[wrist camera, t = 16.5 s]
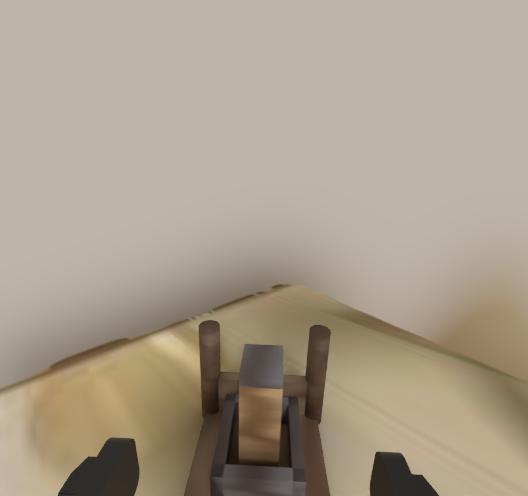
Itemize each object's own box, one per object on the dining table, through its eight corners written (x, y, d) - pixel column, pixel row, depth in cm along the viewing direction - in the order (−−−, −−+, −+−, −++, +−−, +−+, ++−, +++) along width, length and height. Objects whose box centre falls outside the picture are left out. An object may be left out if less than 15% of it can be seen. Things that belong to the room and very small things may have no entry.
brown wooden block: (277, 432, 34) (282, 345, 31) (277, 476, 29) (283, 380, 26) (243, 430, 34) (244, 343, 31) (238, 474, 30) (239, 377, 26)
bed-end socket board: (319, 410, 39) (328, 324, 35) (338, 515, 27) (355, 406, 23) (205, 404, 39) (201, 319, 35) (176, 506, 28) (166, 396, 24)
